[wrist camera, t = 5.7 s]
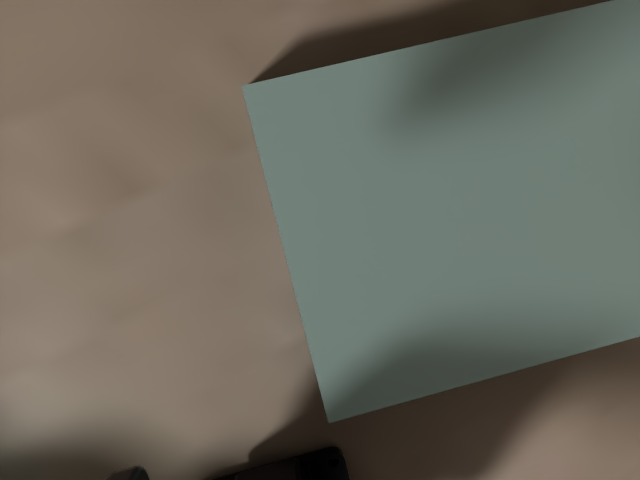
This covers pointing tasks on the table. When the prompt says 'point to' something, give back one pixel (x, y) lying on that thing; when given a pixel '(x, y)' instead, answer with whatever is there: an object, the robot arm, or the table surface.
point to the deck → (460, 203)
